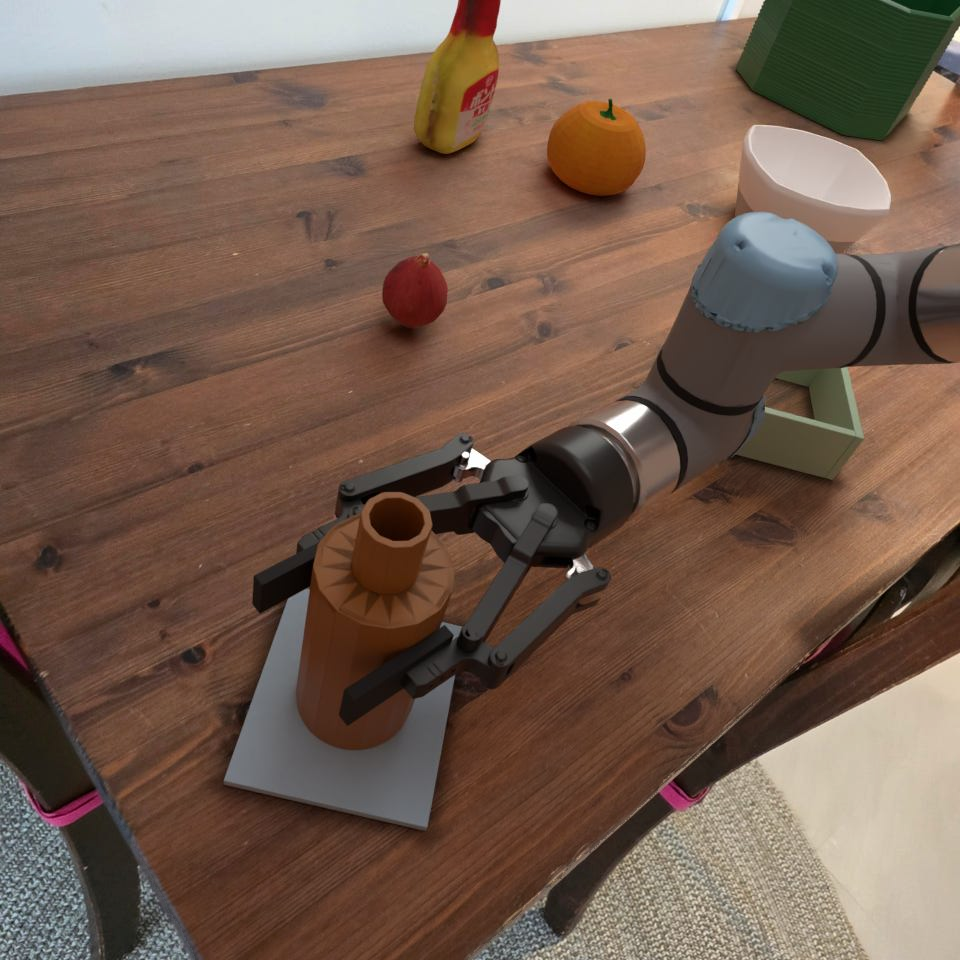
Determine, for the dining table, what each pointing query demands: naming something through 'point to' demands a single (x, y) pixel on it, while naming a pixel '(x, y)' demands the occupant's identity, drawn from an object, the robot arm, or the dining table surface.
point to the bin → (811, 427)
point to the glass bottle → (369, 613)
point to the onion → (415, 291)
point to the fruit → (597, 148)
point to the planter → (848, 58)
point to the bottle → (460, 80)
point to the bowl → (811, 183)
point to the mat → (327, 769)
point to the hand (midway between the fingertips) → (300, 649)
